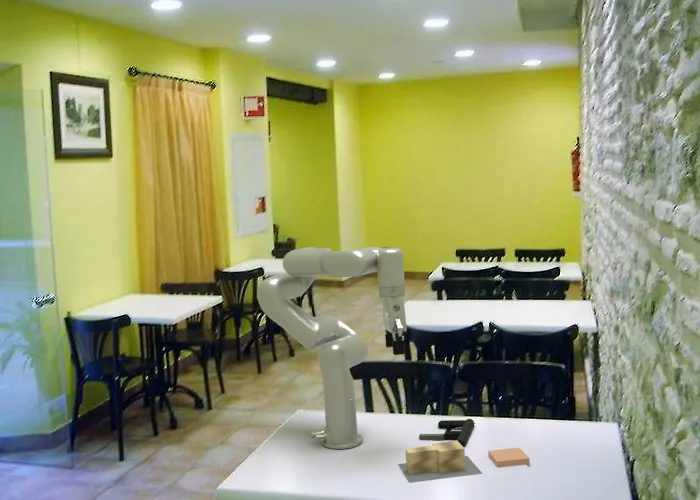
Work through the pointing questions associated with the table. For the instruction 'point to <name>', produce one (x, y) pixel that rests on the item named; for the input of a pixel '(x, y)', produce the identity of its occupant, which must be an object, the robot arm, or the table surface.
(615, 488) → the table surface
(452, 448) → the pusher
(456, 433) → the door handle
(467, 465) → the rest mat
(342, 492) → the table surface
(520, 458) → the tan rectangular block
